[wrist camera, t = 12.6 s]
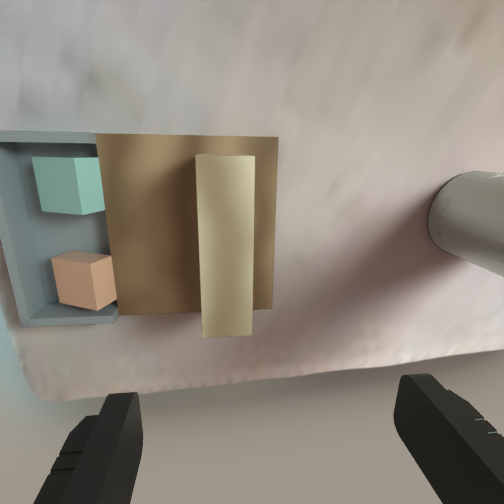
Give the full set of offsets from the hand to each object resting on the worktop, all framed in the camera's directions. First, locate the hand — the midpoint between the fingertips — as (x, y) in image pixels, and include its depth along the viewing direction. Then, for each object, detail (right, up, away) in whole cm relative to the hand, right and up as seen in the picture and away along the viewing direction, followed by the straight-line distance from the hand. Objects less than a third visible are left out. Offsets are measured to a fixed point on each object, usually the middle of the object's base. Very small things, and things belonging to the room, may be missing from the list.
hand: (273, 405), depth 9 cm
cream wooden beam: (-3, +7, +20) cm, 22 cm away
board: (-6, +7, +22) cm, 24 cm away
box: (-18, +7, +21) cm, 29 cm away
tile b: (-16, +2, +21) cm, 27 cm away
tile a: (-16, +11, +19) cm, 27 cm away
